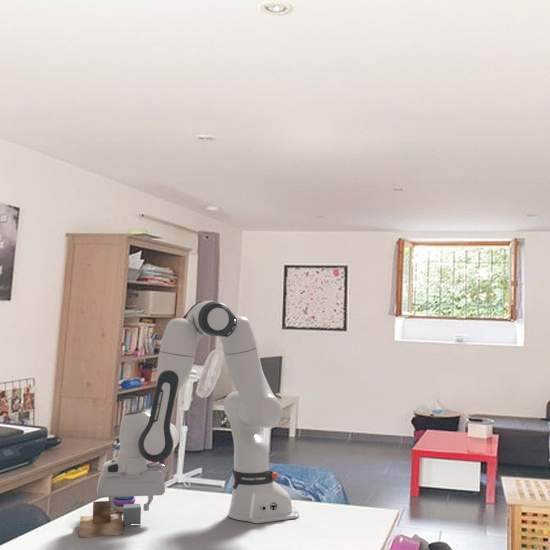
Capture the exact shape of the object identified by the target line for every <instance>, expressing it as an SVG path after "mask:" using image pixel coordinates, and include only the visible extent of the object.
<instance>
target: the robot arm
mask: <svg viewBox="0 0 550 550" xmlns="http://www.w3.org/2000/svg"><path fill="white" fill-rule="evenodd" d="M204 336H205V337H210V336H211V337H218V338H219V339H220V342H221V344H222V350H223V356H224V361H225V366H226V371H227V375H228V378H229V380H230V381H231V382H232V384H233V385H234V387H235V389H236V390H234V391H231V392H230V393H229V394H227V395H226V397H225V398H224V401H223V405H222V406H223V412H224V414H225V416H226V417H227V419H228V423H229V425H230V431H231V434H232V435H231V436H232V441H233V469H232V473H231V475H232V476H231V486H232V493H231V501H230V506H229V510H228V512H227V516H228V517H230V518H231V519H234V520H238V521H244V522H249V523H253V524H262V523H270V522H276V521H283V520H284V521H285V520H293V519H297V518H299V516H300V514H299V510H298V508H296V507H294V506H293V503H292V499H291V495H290V494H289V493H288V491H286V490H285V489H284V488H283V487H282V486H280V484H279V483H277V482H276V481H275V480H278V478H279V474H278V473H277V472H276V471H273V470H271V469H270V468H269V448H270V447H269V443H268V441H267V440H266V438H265V436H264V431H263V429H266V428H267V429H268V428H272V427H275V426H276V425H278V423H279V422H280V421H281V419H282V416H283V406H282V404H281V402H280V400H279V399H278V397H276V395H275V394H274V393H273V391H272V389H271V387H270V385H269V382H268V380H267V378H266V376H265V373H264V371H263V367H262V363H261V357H260V352H259V348H258V347H259V346H258V344H257V339H256V335H255V331H254V329H253V326H252V324H251V321H250V320H249V319H248V318H247V317H246V316H241V315H235V314H234V313H233V312H232V311H231V309H230V308H229V307H228V305H226V304H224V303H223V302H221V301H217V300H216V301H215V300H204V301H199V302H197V303H195V304H193V305H192V306H191V308H189V310H188V311H187V313H185V315H184V316H183V317H178V318H177V317H176V318H173V319H171V320H169V321H168V323H167V325H166V327H165V330H164V332H163V335H162V339H161V342H160V347H159V352H158V356H157V357H158V358H157V369H156V381H155V383H156V384H155V391H154V397H153V401H152V405H151V410H150V412H149V411H147V410H144V409H141V410H133V411H129V412H126V413H125V414H124V415H122V418H121V421H120V425H119V435H118V436H119V437H118V441H119V442H118V443H119V450H118V455H117V457H116V458H114V459H110V460H108V461H105V462H104V463H103V464H102V471H101V472H100V475H99V477H98V481H97V489H96V496H98V498H100V499H103V498H108V501H111V506H112V510H111V513H118V512H117V505H114V504H113V502H112V501H113V500H114V497H130V496H134V497H147V499H148V500H147V502H146V503H143V511H144V512H146V511H148V512H149V510H150V505H151V504H152V501H153V500H154V496H163V495H164V494H165V493H166V481H165V478H166V477H167V467H166V466H165V465H164V464H162V463H160V462H163V461H165V460H166V459H168V458H169V456H170V455H171V453H172V452H173V451H174V450H175V449H176V447H177V446H178V445H179V442H180V438H181V437H180V432H179V429H178V427H177V426H176V425H175V424H173V423H172V420H173V414H174V409H175V408H174V407H175V404H176V399H177V397H178V394H179V392H180V390H181V389H182V387H183V386H184V385H185V383H186V382H187V381H188V379H189V377H190V375H191V373H192V369H193V366H194V363H195V362H194V361H195V358H196V350H197V346H198V343H199V341H200V340H201V338H203V337H204ZM148 462H151V463H148Z"/></svg>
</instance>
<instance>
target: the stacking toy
mask: <svg viewBox="0 0 550 550" xmlns="http://www.w3.org/2000/svg"><path fill="white" fill-rule="evenodd" d="M112 502H113V504H114V505H117V512H116V513H123V507H124V505H125V504H136V498H135V496H130V497H114V500H113V501H112ZM111 511H112V506H111Z"/></svg>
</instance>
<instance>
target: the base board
mask: <svg viewBox="0 0 550 550" xmlns="http://www.w3.org/2000/svg"><path fill="white" fill-rule="evenodd" d="M78 528H79V529H78V538H92V537H109V535H110V536H118V535H117V534H123V533H124V526H123V514H122V513H119V514H115V513H114V514H111V521H110V523H101V524H93V515H84V516H83V515H81V516H80V518H79V527H78Z"/></svg>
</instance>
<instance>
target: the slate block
mask: <svg viewBox="0 0 550 550" xmlns="http://www.w3.org/2000/svg"><path fill="white" fill-rule="evenodd" d="M122 513H123V514H122V521H123V525H130V526H132V525H131V524H141V520H142V519H141V518H142V517H141V516H142V507H141V503H135V504H125V505H124V507H123V512H122Z"/></svg>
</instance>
